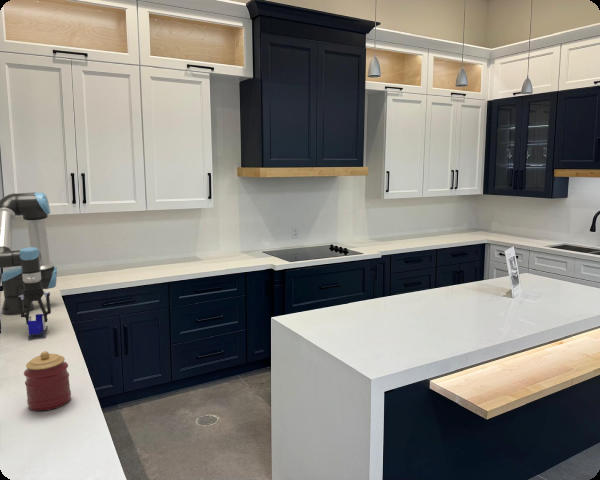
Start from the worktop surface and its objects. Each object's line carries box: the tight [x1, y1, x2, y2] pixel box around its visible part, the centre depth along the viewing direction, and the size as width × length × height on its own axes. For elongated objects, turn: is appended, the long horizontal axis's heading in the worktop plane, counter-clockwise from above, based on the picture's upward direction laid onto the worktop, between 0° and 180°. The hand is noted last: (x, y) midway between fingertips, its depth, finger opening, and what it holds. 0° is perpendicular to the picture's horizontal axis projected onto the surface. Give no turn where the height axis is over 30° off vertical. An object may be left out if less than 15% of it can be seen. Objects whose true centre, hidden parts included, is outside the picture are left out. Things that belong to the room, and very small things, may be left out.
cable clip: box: [27, 313, 44, 336], centre depth 233 cm, size 12×4×6 cm, turn 10°
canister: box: [23, 350, 72, 412], centre depth 164 cm, size 13×13×18 cm
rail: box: [27, 325, 49, 341], centre depth 234 cm, size 15×7×1 cm, turn 23°
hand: (37, 329), depth 233 cm, fingers closed on cable clip, 5 cm apart
